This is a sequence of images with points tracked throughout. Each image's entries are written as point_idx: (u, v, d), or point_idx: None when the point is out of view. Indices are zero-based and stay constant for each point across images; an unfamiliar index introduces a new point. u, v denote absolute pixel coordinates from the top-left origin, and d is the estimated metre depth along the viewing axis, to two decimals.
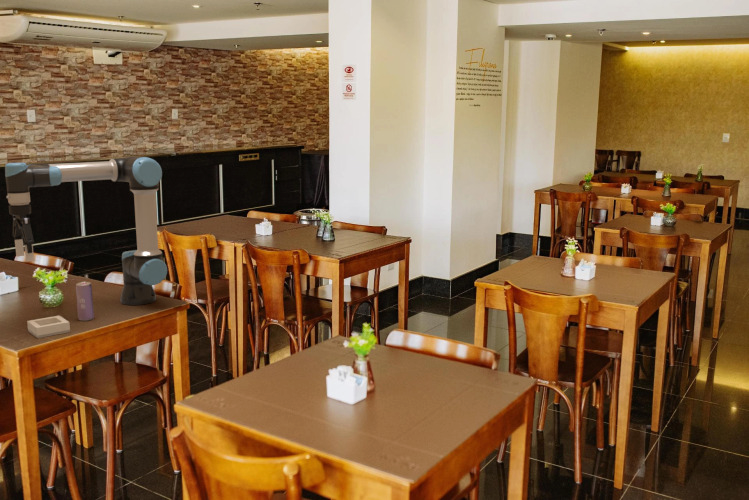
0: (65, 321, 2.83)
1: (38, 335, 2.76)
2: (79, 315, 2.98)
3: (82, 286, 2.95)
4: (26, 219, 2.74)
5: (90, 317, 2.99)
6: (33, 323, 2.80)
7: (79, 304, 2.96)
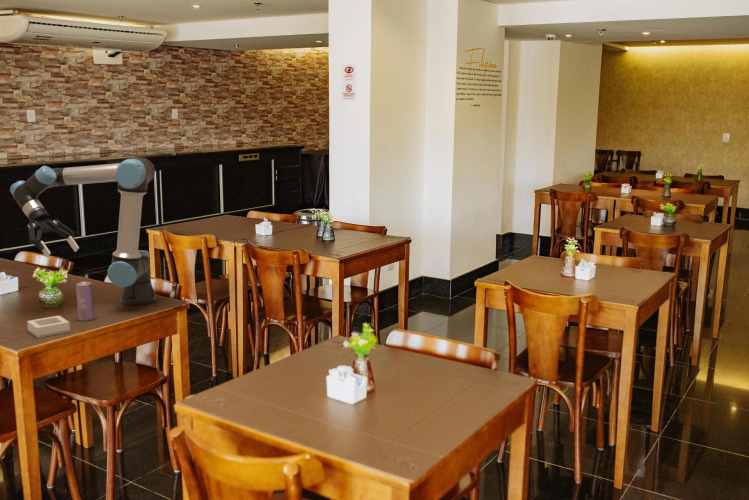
0: (65, 321, 2.83)
1: (38, 335, 2.76)
2: (79, 315, 2.98)
3: (82, 286, 2.95)
4: (28, 224, 2.98)
5: (90, 317, 2.99)
6: (33, 323, 2.80)
7: (79, 304, 2.96)
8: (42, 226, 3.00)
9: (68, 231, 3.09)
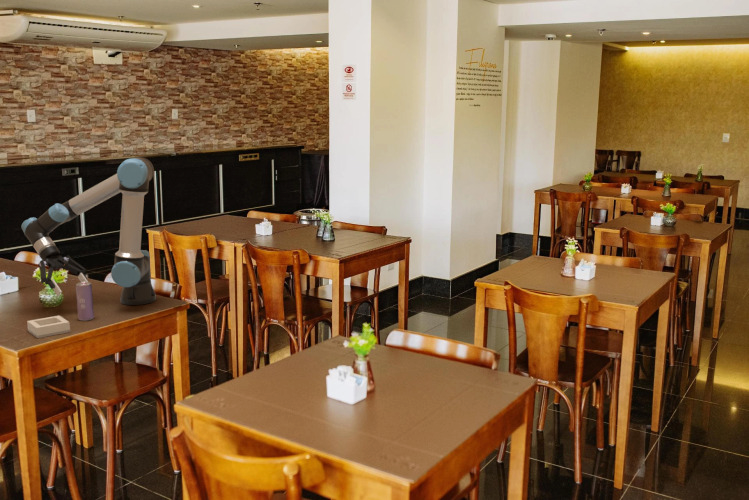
0: (65, 321, 2.83)
1: (38, 335, 2.76)
2: (79, 315, 2.98)
3: (82, 286, 2.95)
4: (39, 262, 2.98)
5: (90, 317, 2.99)
6: (33, 323, 2.80)
7: (79, 304, 2.96)
8: (53, 264, 3.00)
9: (79, 268, 3.09)
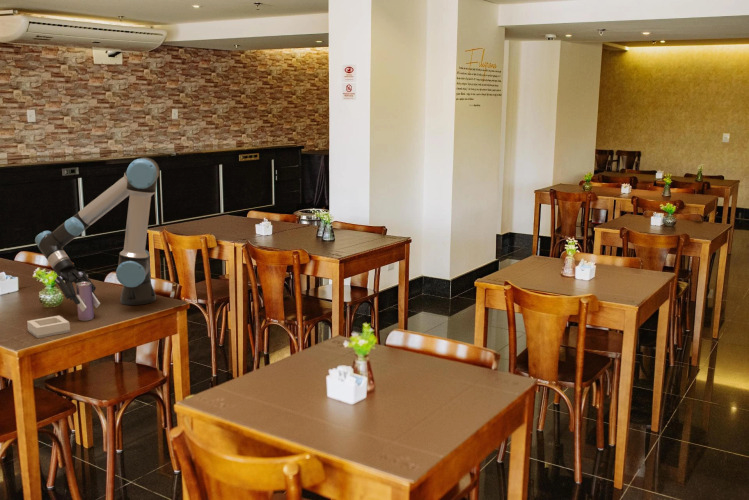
0: (65, 321, 2.83)
1: (38, 335, 2.76)
2: (79, 315, 2.98)
3: (82, 286, 2.95)
4: (55, 279, 2.95)
5: (90, 317, 2.99)
6: (33, 323, 2.80)
7: None
8: (70, 278, 2.98)
9: None
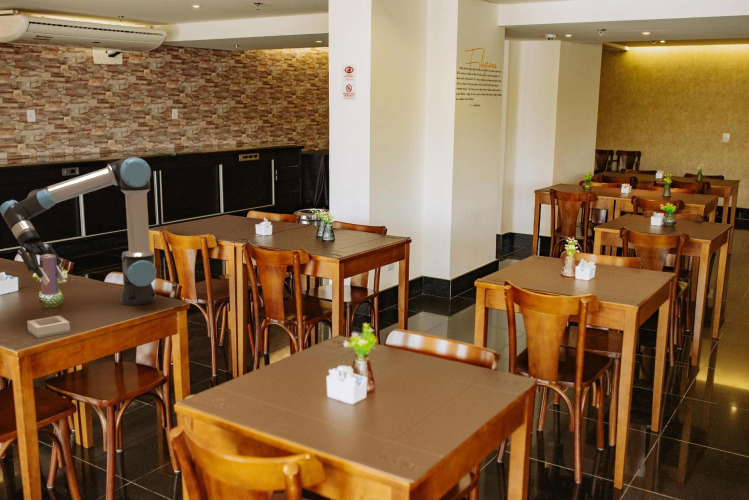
0: (65, 321, 2.83)
1: (38, 335, 2.76)
2: (42, 289, 2.82)
3: (46, 258, 2.80)
4: (18, 250, 2.80)
5: (54, 291, 2.83)
6: (33, 323, 2.80)
7: None
8: (34, 250, 2.83)
9: None
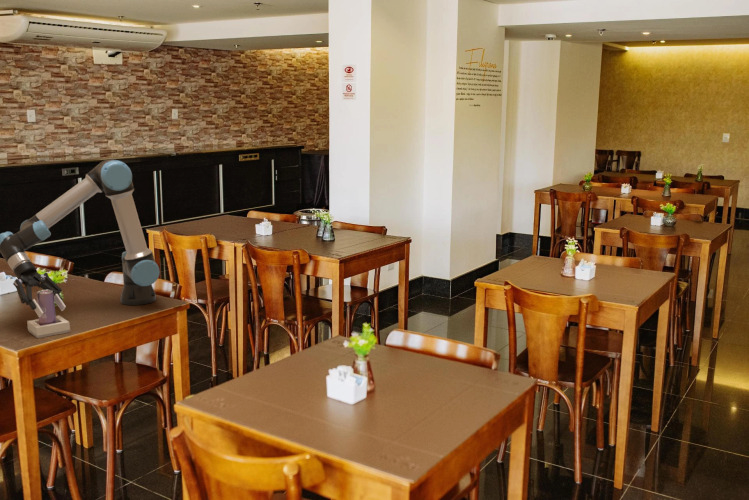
0: (65, 321, 2.83)
1: (38, 335, 2.76)
2: (40, 325, 2.81)
3: (43, 294, 2.78)
4: (14, 282, 2.78)
5: None
6: (33, 323, 2.80)
7: None
8: (30, 281, 2.81)
9: (55, 287, 2.88)
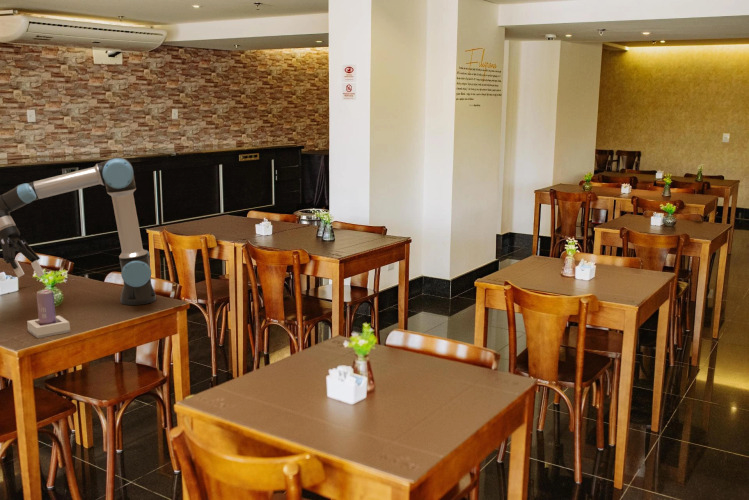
0: (65, 321, 2.83)
1: (38, 335, 2.76)
2: (40, 325, 2.81)
3: (43, 294, 2.78)
4: (2, 240, 2.84)
5: None
6: (33, 323, 2.80)
7: (40, 313, 2.79)
8: (15, 244, 2.88)
9: None
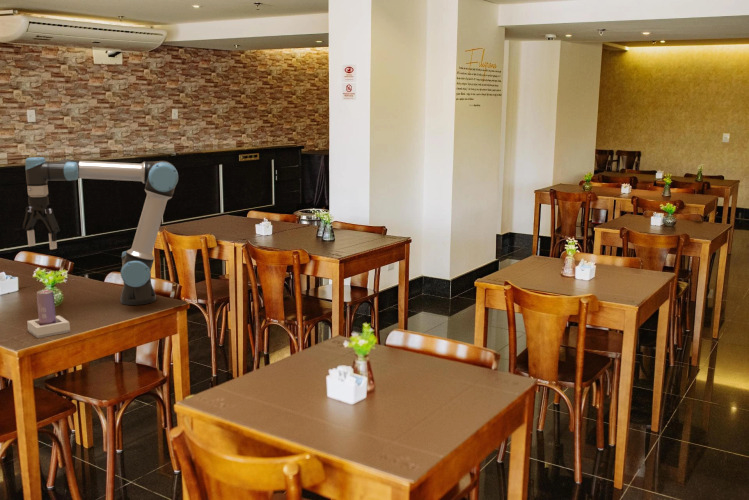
0: (65, 321, 2.83)
1: (38, 335, 2.76)
2: (40, 325, 2.81)
3: (43, 294, 2.78)
4: (50, 209, 2.94)
5: None
6: (33, 323, 2.80)
7: (40, 313, 2.79)
8: None
9: None
